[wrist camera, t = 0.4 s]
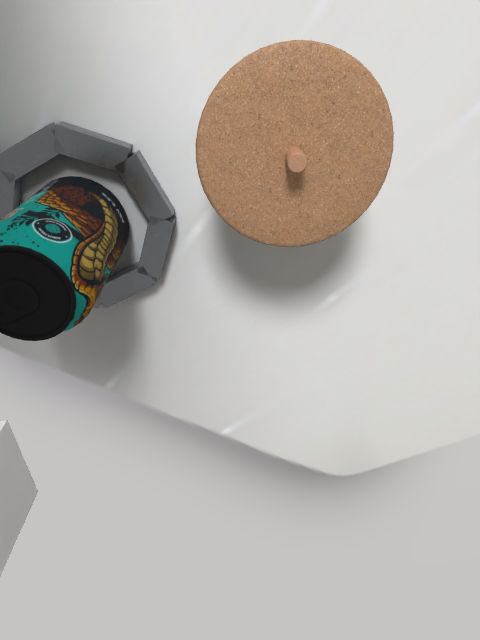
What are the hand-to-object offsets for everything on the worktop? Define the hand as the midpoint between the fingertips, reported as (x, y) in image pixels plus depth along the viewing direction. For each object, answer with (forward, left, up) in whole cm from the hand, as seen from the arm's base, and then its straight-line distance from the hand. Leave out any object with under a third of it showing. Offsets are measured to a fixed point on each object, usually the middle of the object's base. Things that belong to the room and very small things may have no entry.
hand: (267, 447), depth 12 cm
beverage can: (-3, -12, -25) cm, 28 cm away
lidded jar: (-2, +4, -25) cm, 26 cm away
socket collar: (-3, -12, -25) cm, 28 cm away
